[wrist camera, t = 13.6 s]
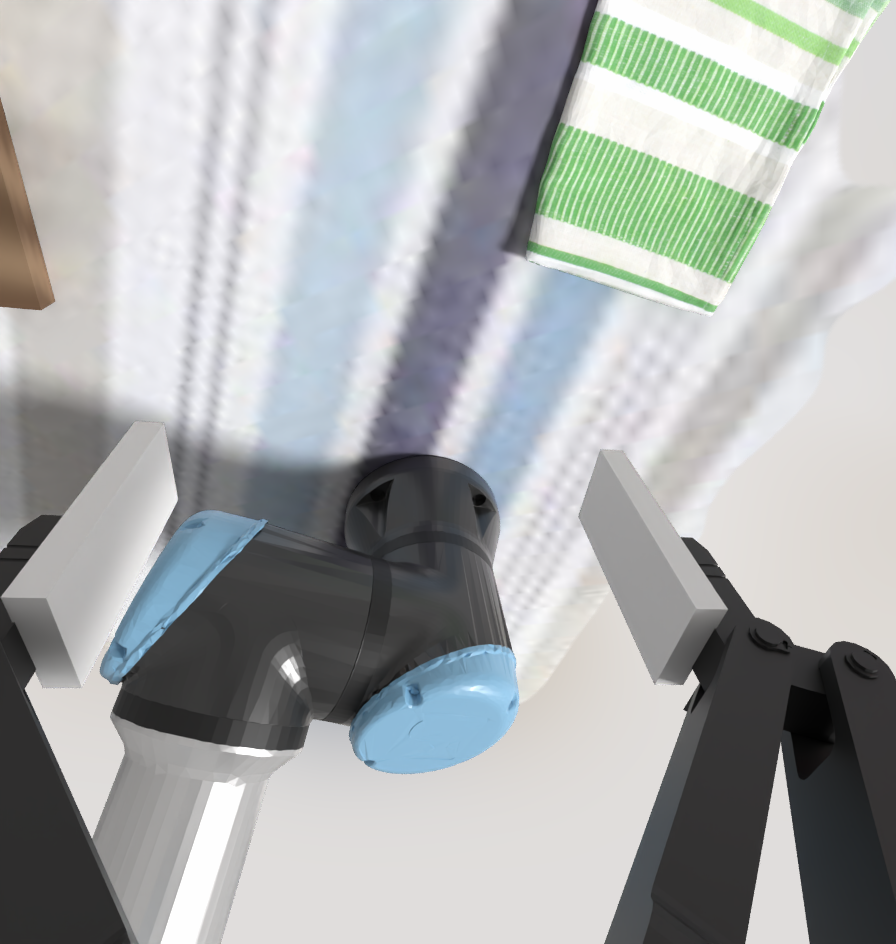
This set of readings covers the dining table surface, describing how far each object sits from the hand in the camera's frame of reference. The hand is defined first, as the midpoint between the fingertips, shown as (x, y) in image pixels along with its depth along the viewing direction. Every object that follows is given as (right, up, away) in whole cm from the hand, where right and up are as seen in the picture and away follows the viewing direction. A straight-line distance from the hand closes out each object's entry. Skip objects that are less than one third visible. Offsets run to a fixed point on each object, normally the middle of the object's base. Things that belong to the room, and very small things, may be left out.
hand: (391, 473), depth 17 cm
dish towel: (+18, +25, +21) cm, 37 cm away
